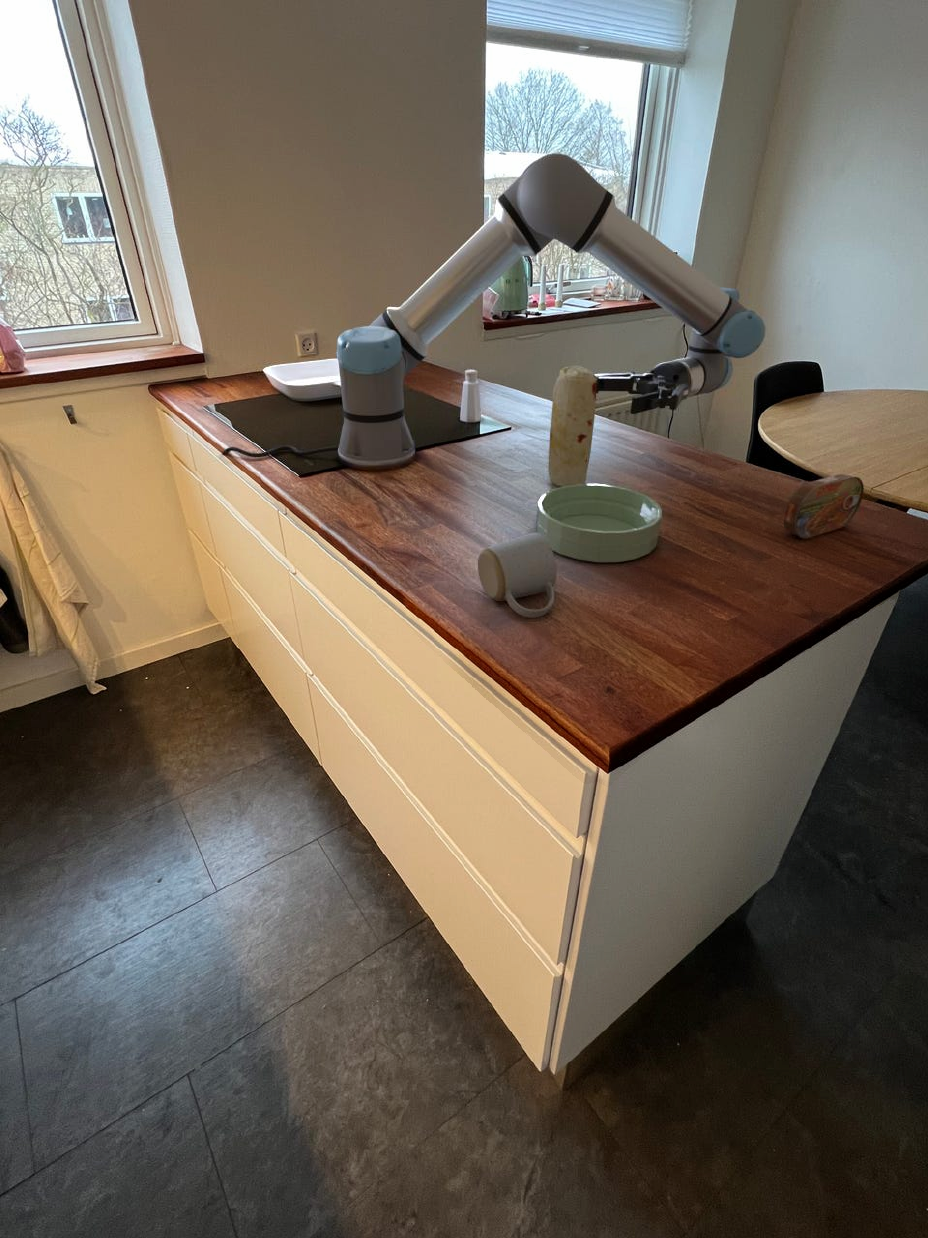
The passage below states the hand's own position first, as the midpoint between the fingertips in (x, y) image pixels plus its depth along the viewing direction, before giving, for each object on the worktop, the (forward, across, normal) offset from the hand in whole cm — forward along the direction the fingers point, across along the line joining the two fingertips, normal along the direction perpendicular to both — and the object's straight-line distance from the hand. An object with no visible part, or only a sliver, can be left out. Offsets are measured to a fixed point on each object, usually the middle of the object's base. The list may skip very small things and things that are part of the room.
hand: (602, 397), depth 113 cm
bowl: (+21, -19, -14) cm, 31 cm away
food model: (+8, 0, -14) cm, 16 cm away
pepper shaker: (-4, +42, -14) cm, 45 cm away
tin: (-8, -39, -14) cm, 42 cm away
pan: (+10, +83, -14) cm, 85 cm away
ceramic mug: (+42, -25, -14) cm, 51 cm away
